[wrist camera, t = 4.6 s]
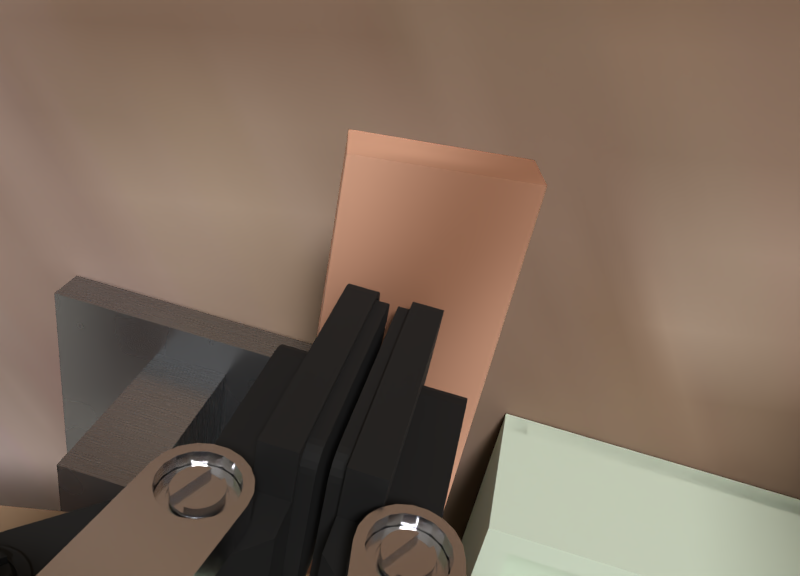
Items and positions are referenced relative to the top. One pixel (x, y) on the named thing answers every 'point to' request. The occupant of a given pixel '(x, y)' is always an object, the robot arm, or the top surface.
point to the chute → (425, 252)
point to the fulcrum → (144, 382)
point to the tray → (619, 514)
